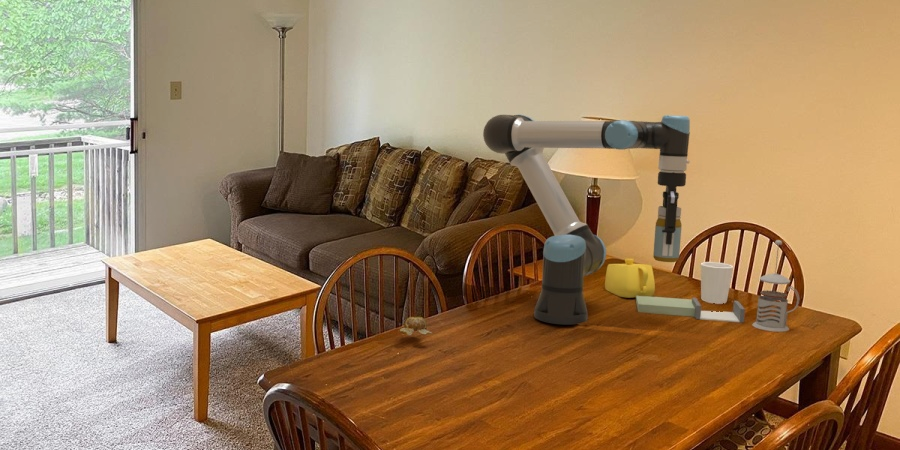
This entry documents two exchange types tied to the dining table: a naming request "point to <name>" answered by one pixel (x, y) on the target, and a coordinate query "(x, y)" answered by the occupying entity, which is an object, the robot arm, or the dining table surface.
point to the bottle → (660, 236)
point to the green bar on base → (687, 308)
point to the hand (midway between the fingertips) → (666, 253)
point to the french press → (774, 303)
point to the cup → (715, 281)
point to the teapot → (630, 279)
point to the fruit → (415, 326)
